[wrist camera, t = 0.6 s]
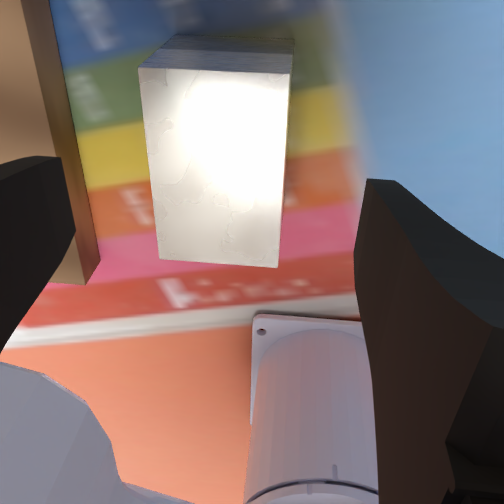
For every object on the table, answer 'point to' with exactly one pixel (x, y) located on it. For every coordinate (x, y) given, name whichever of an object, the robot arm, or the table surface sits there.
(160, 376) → the table surface
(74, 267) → the walnut stand
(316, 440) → the robot arm
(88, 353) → the table surface
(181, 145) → the block
